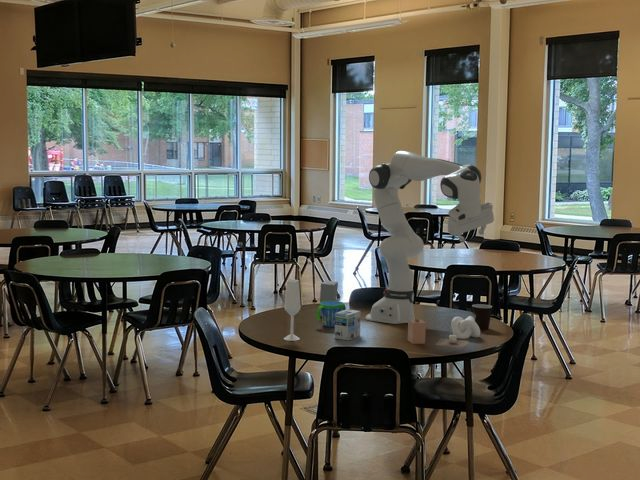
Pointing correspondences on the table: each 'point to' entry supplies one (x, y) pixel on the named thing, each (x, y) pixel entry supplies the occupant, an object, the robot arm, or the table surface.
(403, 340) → the table surface
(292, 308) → the champagne flute
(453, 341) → the small white block
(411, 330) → the pink juice box
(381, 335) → the table surface
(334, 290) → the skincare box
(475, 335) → the white lumpy piece
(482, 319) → the coffee mug
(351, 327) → the light bulb box
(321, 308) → the snack cup
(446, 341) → the board
